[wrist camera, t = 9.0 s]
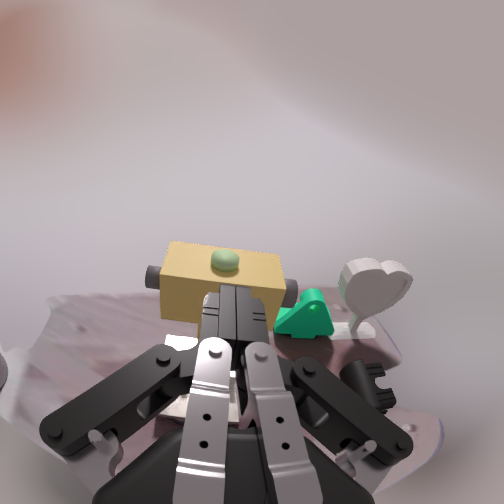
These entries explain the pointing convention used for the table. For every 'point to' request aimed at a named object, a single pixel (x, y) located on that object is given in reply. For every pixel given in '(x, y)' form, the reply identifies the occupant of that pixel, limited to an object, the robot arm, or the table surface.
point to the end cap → (368, 384)
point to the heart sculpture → (369, 293)
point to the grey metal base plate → (180, 404)
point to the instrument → (217, 280)
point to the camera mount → (305, 317)
